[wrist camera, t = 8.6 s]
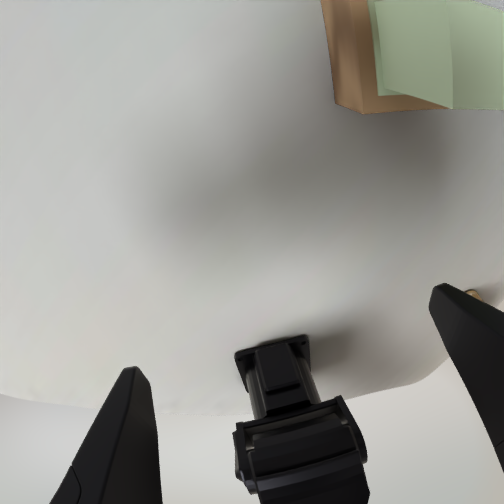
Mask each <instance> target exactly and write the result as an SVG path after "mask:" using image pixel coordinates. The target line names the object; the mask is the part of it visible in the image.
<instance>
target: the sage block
mask: <svg viewBox="0 0 504 504" xmlns="http://www.w3.org/2000/svg"><path fill="white" fill-rule="evenodd" d="M374 3H375V10H376V16H377V24H378V31H379V40H380V49H381V59H382V70H383V83H384V88H385V89H389V90H393V91H396V92H400V93H403V94H407V95H410V96H414V97H417V98H420V99H424V100H427V101H430V102H433V103H436V104H439V105H442V106H445V107H448V108H450V109H482V110H504V12H503V11H501V10H498V9H495V8H492V7H490V6H487V5H484V4H481V3H478V2H475V1H472V0H382V1H376V2H374Z"/></svg>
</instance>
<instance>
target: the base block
mask: <svg viewBox="0 0 504 504" xmlns="http://www.w3.org/2000/svg"><path fill="white" fill-rule="evenodd" d="M376 1H382V0H321V5H322V10H323V16H324V22H325V28H326V34H327V41H328V48H329V55H330V62H331V70H332V78H333V86H334V95H335V103H336V104H338V105H341V106H344V107H346V108H349V109H351V110H354V111H356V112H359V113H361V114H372V113H383V112H394V111H408V110H426V109H450V108H448V107H445V106H442V105H439V104H436V103H433V102H430V101H427V100H424V99H420V98H417V97H414V96H410V95H407V94H403V93H400V92H396V91H393V90H389V89H385V88H384V83H383V70H382V59H381V49H380V40H379V31H378V24H377V16H376V10H375V3H374V2H376Z"/></svg>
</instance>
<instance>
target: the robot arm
mask: <svg viewBox="0 0 504 504" xmlns="http://www.w3.org/2000/svg"><path fill="white" fill-rule="evenodd" d="M429 311H430V314H431V316H432V318H433V320H434V322H435V325H436V327H437V329H438V331H439V334H440V336H441V338H442V341H443V343H444V345H445V347H446V350H447V352H448V354H449V356H450V357H451V359H452V361H453V363H454V365H455V367H456V368H457V370H458V372H459V374H460V376H461V378H462V380H463V382H464V384H465V386H466V388H467V390H468V392H469V394H470V396H471V398H472V400H473V402H474V404H475V406H476V408H477V411H478V413H479V415H480V417H481V419H482V421H483V423H484V426H485V428H486V430H487V432H488V435H489V437H490V439H491V442H492V444H493V447H494V449H495V452H496V454H497V457H498V459H499V462H500V464H501V467H502V470H503V472H504V312H502V311H500V310H498V309H496V308H494V307H492V306H490V305H489V304H487V303H485V302H483V301H481V300H479V299H477V298H475V297H473V296H471V295H469V294H467V293H465V292H463V291H461V290H459V289H457V288H455V287H453V286H451V285H449V284H447V283H442V284H439V285H437V286H435V287H434V288H433V291H432V294H431V298H430V302H429ZM234 359H235V362H236V365H237V368H238V370H239V373H240V376H241V378H242V381H243V383H244V386H245V389H246V391H247V393H249V396H250V400H251V405H252V410H253V414H254V419H255V420H252V421H247V422H238V423H236V429H237V430H236V431H235V432H233V433H232V434H233V439H234V446H235V474H236V478H237V479H239V480H240V481H242V482H244V484H245V486H246V487H247V489H248V491H249V493H250V494H251V495H252V494H257V493H258V497H259V500H260V503H261V504H368V500H369V496H370V491H369V489H368V485H367V481H366V476H365V472H364V468H363V464H364V463H366V462H367V450H366V446H365V441H364V439H363V436H362V433H361V431H360V429H359V427H358V425H357V423H356V422H355V420H354V418H353V416H352V414H351V412H350V411H349V409H348V407H347V405H346V403H345V402H344V400H343V398H342V396H341V395H340V396H336V397H334V399H330V400H327V401H324V402H321V400H320V397H319V394H318V391H317V389H316V386H315V383H314V380H313V378H312V375H311V367H310V351H309V341H308V338H307V337H306V336H301V337H297V338H293V339H290V340H286V341H282V342H278V343H275V344H271V345H267V346H263V347H259V348H255V349H251V350H247V351H242V352H238V353H236V354H235V355H234ZM161 492H162V491H161V480H160V467H159V450H158V434H157V426H156V420H155V413H154V407H153V399H152V392H151V386H150V383H149V381H148V380H147V378H146V377H145V376H144V374H143V373H142V371H141V370H140V369H139V368H138V367H137V366H133V367H127V368H124V369H123V370H122V372H121V374H120V375H119V377H118V379H117V381H116V382H115V384H114V386H113V388H112V389H111V391H110V393H109V395H108V397H107V398H106V400H105V402H104V404H103V406H102V407H101V409H100V411H99V413H98V415H97V417H96V418H95V420H94V422H93V424H92V426H91V428H90V430H89V431H88V433H87V435H86V437H85V439H84V441H83V443H82V445H81V447H80V448H79V450H78V452H77V454H76V456H75V458H74V460H73V462H72V466H70V467H69V469H68V472H67V474H66V476H65V477H64V479H63V481H62V483H61V485H60V487H59V488H58V490H57V492H56V493H55V495H54V497H53V498H52V500H51V502H50V503H49V504H163V502H162V493H161Z"/></svg>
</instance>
